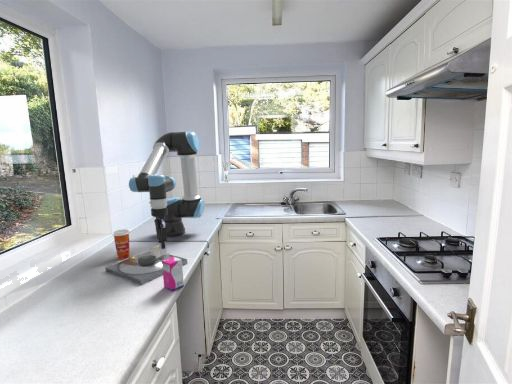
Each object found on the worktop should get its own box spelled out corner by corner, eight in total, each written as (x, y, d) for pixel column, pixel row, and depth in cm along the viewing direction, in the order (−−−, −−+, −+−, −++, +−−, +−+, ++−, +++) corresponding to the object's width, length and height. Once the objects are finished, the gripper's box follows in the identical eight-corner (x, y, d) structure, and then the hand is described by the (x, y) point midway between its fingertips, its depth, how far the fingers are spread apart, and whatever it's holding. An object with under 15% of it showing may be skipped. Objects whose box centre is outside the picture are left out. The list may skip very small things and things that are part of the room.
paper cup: (114, 260, 149) (111, 234, 146) (117, 255, 156) (114, 229, 154) (130, 258, 151) (128, 232, 148) (132, 253, 158) (130, 228, 156)
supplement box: (175, 281, 124) (173, 255, 122) (184, 285, 120) (182, 259, 118) (163, 287, 119) (161, 260, 118) (172, 291, 116) (170, 263, 114)
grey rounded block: (146, 266, 134) (145, 255, 133) (134, 263, 137) (133, 252, 137) (170, 255, 147) (169, 244, 146) (158, 253, 151) (157, 242, 150)
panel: (152, 253, 157) (152, 248, 157) (187, 263, 143) (187, 258, 143) (105, 271, 136) (105, 266, 136) (141, 284, 122) (140, 279, 121)
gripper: (147, 206, 144) (151, 252, 148) (154, 210, 133) (159, 260, 137) (163, 204, 148) (166, 249, 152) (171, 208, 138) (175, 256, 141)
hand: (163, 254), depth 144 cm, fingers closed
